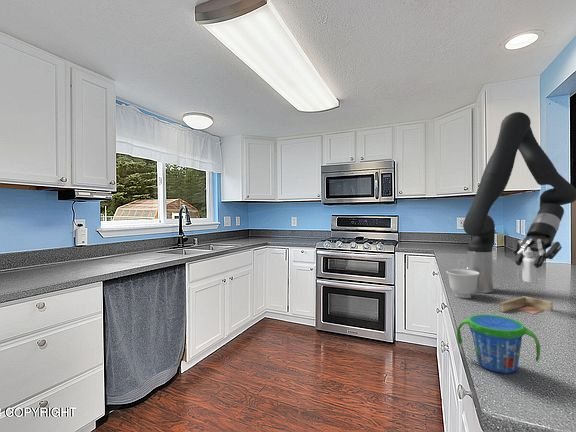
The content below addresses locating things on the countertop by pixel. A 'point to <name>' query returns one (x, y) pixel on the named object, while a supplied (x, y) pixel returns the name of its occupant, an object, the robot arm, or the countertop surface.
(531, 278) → the eye dropper bottle
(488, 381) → the countertop surface
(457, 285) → the teacup
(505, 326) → the snack cup
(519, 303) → the tan l-shaped piece
